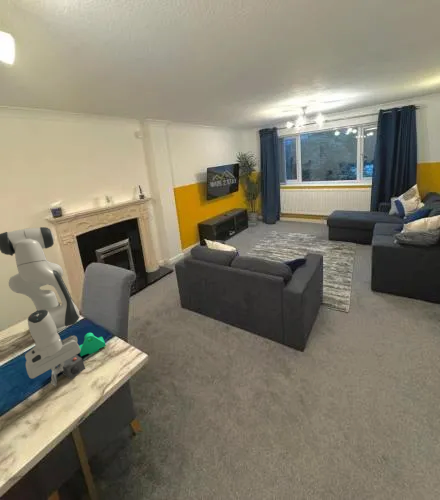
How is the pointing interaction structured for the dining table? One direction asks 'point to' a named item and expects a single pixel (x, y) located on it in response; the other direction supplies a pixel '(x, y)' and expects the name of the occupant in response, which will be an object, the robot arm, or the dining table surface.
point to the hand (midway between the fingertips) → (59, 371)
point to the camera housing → (73, 366)
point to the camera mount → (91, 344)
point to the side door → (54, 377)
